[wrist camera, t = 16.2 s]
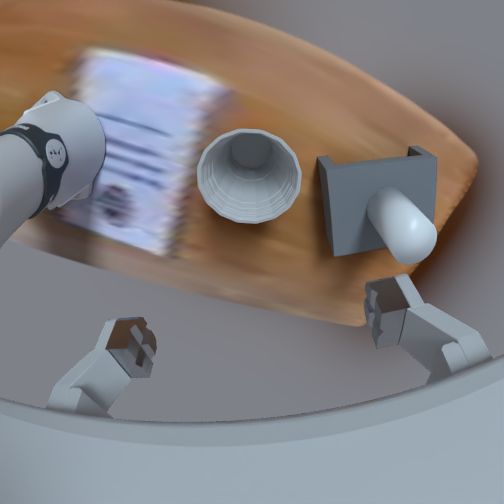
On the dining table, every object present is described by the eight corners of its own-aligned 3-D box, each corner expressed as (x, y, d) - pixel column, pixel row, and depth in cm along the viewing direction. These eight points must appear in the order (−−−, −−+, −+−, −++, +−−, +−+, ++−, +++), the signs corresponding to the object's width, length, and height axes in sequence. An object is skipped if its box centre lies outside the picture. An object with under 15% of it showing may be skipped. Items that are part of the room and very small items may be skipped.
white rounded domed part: (368, 231, 40) (391, 269, 33) (364, 192, 37) (390, 225, 29) (406, 221, 39) (435, 257, 32) (404, 183, 36) (437, 214, 29)
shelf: (326, 235, 48) (334, 256, 43) (317, 156, 41) (326, 170, 36) (415, 220, 46) (431, 239, 41) (417, 145, 39) (437, 157, 34)
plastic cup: (196, 159, 41) (176, 192, 31) (241, 97, 36) (235, 106, 26) (258, 200, 45) (259, 244, 35) (305, 144, 40) (323, 171, 30)
